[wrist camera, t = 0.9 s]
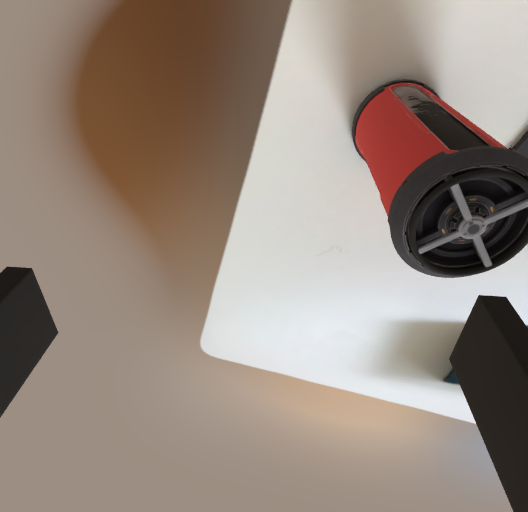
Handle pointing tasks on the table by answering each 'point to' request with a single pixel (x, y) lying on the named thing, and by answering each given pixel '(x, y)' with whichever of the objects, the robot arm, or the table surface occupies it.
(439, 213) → the speaker
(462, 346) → the robot arm
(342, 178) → the table surface
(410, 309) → the table surface
